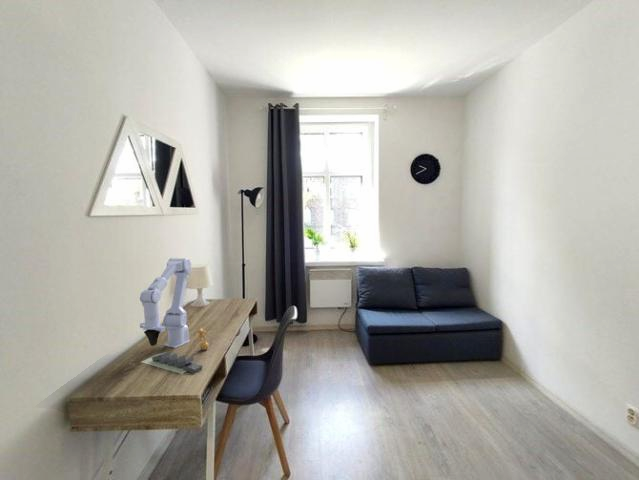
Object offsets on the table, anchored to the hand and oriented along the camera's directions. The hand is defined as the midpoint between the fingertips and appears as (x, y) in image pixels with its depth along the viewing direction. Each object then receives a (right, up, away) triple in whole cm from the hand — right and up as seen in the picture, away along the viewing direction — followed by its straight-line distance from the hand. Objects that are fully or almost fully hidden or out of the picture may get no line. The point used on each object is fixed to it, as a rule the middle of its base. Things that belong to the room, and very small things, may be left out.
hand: (153, 344), depth 141 cm
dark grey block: (+15, -6, -7) cm, 17 cm away
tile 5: (+19, -6, -9) cm, 22 cm away
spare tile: (+6, -6, -3) cm, 9 cm away
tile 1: (+1, -6, 0) cm, 6 cm away
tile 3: (+10, -6, -5) cm, 13 cm away
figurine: (+19, -6, +9) cm, 22 cm away
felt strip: (+9, -7, -4) cm, 12 cm away
